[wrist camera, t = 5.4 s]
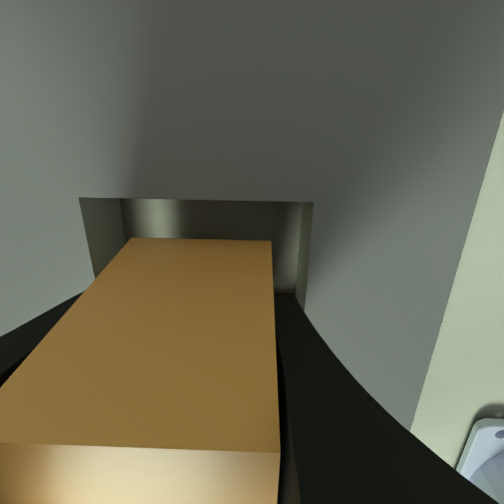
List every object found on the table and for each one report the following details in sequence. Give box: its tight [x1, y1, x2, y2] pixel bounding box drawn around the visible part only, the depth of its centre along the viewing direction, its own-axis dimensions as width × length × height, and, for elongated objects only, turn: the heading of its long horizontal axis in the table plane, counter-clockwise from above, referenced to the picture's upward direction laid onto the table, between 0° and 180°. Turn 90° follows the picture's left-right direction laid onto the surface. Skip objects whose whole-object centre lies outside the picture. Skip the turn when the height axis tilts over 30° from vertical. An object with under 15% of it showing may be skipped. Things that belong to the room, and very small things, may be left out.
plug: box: [0, 238, 280, 504], centre depth 8 cm, size 4×4×7 cm
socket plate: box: [0, 0, 504, 432], centre depth 11 cm, size 14×18×4 cm
